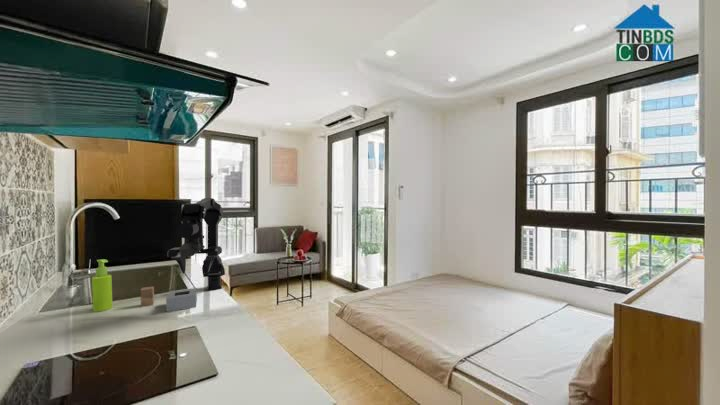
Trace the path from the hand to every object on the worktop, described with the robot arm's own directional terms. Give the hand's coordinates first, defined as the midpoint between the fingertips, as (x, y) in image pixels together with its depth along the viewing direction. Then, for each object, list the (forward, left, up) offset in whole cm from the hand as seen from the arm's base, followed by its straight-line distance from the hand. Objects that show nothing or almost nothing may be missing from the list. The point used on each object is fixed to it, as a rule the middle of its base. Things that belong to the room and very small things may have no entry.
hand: (196, 272), depth 118 cm
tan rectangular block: (-13, -18, -14) cm, 26 cm away
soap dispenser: (-16, -33, -14) cm, 39 cm away
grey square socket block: (-5, -5, -14) cm, 16 cm away
